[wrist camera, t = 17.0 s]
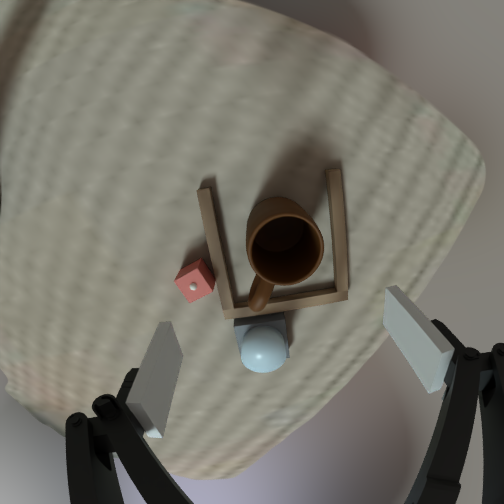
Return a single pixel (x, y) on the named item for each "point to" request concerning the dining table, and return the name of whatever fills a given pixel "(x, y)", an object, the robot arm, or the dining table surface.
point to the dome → (263, 349)
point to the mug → (280, 247)
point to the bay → (289, 301)
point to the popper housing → (261, 320)
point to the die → (195, 280)
